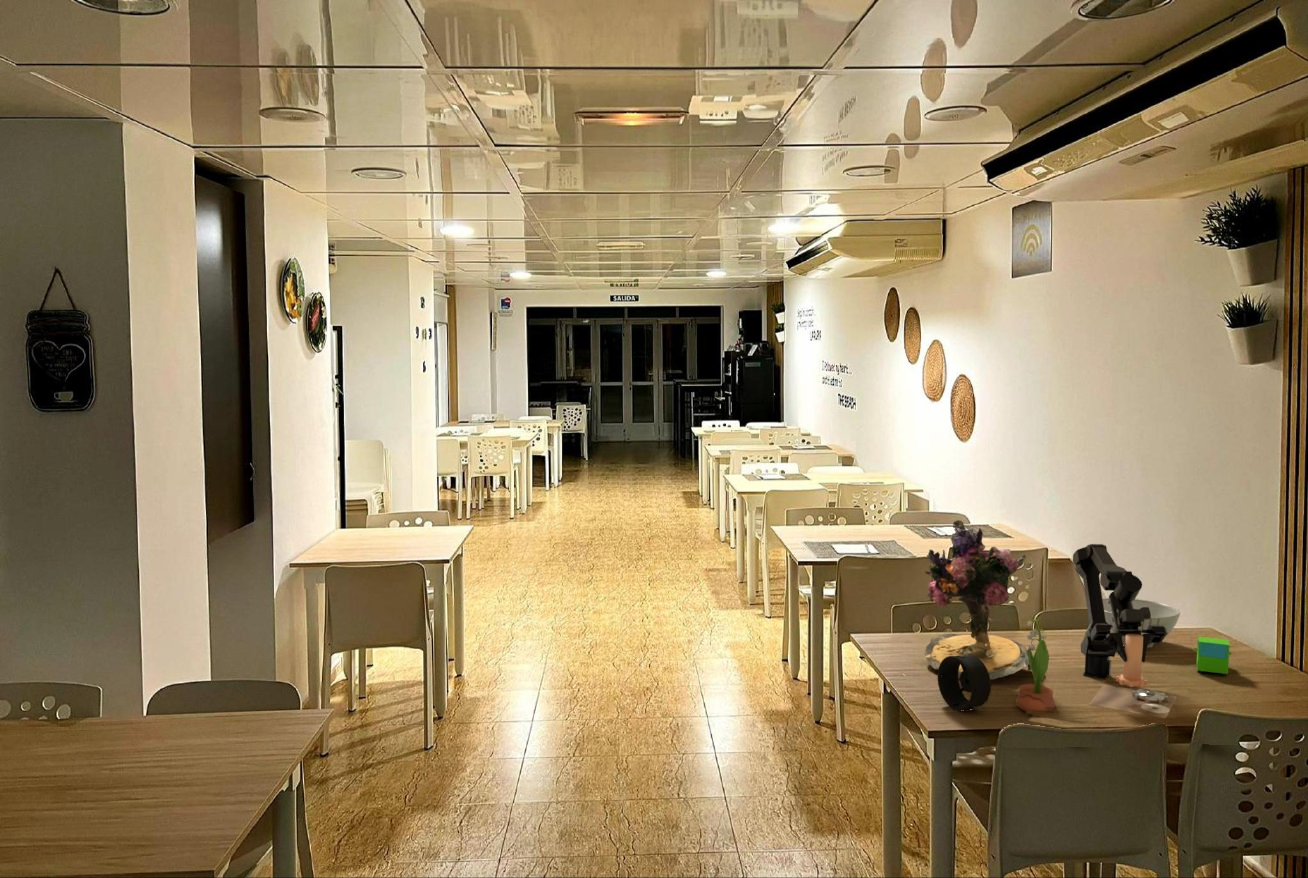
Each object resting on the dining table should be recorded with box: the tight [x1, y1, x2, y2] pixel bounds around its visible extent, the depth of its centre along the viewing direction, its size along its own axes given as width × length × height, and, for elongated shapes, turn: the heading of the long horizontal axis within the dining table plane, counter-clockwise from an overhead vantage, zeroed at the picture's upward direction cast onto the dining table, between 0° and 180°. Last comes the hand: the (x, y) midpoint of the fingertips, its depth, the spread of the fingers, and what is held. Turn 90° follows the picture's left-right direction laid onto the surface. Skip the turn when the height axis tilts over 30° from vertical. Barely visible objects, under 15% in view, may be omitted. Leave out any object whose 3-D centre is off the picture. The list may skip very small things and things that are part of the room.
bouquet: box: [924, 519, 1031, 681], centre depth 326 cm, size 33×44×45 cm
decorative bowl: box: [1102, 597, 1181, 648], centre depth 357 cm, size 27×27×12 cm
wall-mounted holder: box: [937, 655, 992, 712], centre depth 292 cm, size 14×14×10 cm
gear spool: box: [1115, 634, 1148, 688], centre depth 293 cm, size 8×8×13 cm
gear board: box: [1088, 684, 1178, 719], centre depth 295 cm, size 19×21×2 cm
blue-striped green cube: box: [1193, 636, 1232, 676], centre depth 329 cm, size 10×13×10 cm
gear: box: [1132, 688, 1168, 704], centre depth 297 cm, size 9×9×2 cm
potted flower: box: [1015, 617, 1056, 712], centre depth 291 cm, size 12×10×25 cm
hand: (1134, 661), depth 292 cm, fingers closed on gear spool, 4 cm apart
